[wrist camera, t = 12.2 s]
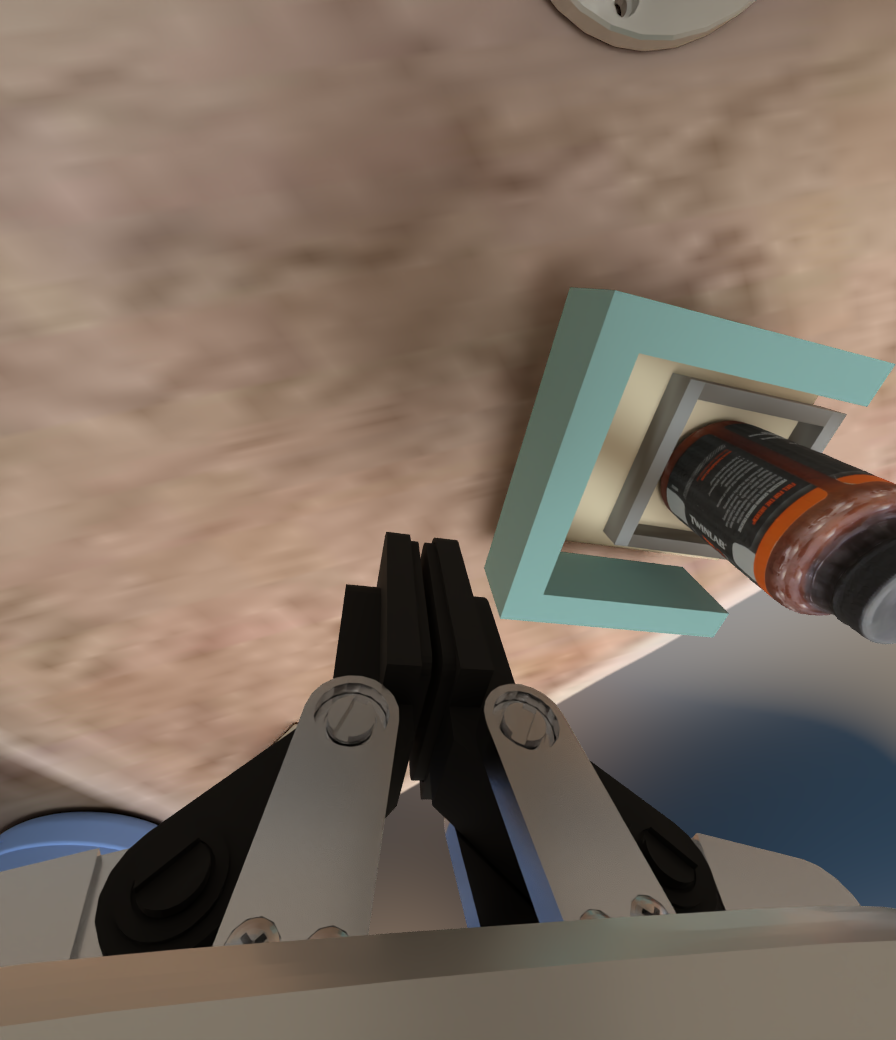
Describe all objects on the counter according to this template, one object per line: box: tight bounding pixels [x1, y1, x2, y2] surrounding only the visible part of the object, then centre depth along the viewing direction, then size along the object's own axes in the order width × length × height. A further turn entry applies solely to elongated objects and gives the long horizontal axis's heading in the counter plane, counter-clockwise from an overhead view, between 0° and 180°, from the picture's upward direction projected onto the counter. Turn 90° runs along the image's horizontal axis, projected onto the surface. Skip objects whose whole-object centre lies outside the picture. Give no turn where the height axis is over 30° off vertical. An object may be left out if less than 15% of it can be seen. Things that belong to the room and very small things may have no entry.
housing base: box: [565, 353, 847, 560], centre depth 24 cm, size 11×13×3 cm
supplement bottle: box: [661, 420, 896, 644], centre depth 19 cm, size 6×6×11 cm
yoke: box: [484, 287, 895, 637], centre depth 20 cm, size 14×12×4 cm
